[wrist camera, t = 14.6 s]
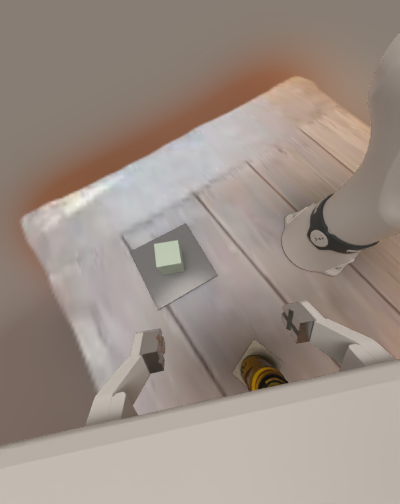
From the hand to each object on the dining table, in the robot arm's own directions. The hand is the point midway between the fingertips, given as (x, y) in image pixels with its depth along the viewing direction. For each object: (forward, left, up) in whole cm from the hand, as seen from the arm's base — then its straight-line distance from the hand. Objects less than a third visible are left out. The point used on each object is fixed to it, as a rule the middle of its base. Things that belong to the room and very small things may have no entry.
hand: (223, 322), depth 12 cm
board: (+1, -14, -31) cm, 35 cm away
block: (+1, -14, -30) cm, 34 cm away
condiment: (-4, +15, -32) cm, 35 cm away
